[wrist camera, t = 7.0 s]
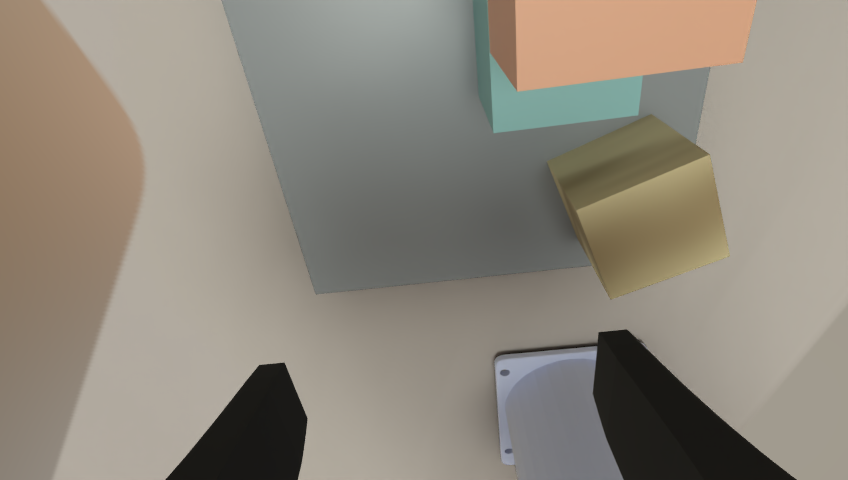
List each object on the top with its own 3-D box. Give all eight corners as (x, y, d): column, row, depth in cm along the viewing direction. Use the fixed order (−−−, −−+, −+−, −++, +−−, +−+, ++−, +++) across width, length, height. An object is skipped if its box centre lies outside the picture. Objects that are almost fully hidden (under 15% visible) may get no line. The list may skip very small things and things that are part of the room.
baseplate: (661, 242, 21) (673, 256, 20) (320, 278, 22) (315, 294, 21) (786, -487, 11) (825, -533, 10) (127, -352, 12) (99, -382, 11)
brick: (673, 201, 19) (729, 256, 15) (577, 239, 20) (610, 299, 16) (651, 113, 17) (710, 154, 13) (546, 161, 18) (576, 210, 14)
